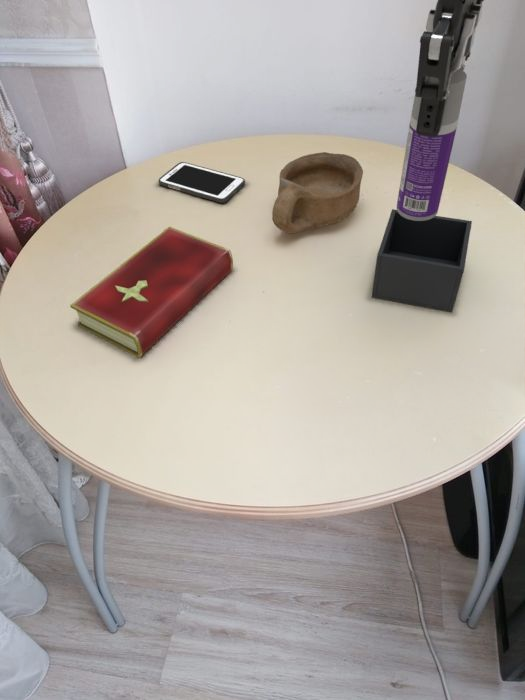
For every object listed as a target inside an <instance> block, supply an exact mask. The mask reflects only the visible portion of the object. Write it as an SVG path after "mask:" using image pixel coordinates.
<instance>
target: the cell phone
mask: <svg viewBox="0 0 525 700" xmlns="http://www.w3.org/2000/svg"><path fill="white" fill-rule="evenodd" d="M158 184H159V185H160V186H163V187H166V188H170V189H174V190H178V191H180V192H183V193H186V194H189V195H192V196H196V197H200V198H203V199H206V200H210V201H213V202H215V203H216V202H217V203H221V204H224V203H226V202H228V201H229V200H230V198H232V197H233V196H234V194H235V193H237V192H239V191H240V190H241V189H242V188H243V187H245V184H246V179H245V178H243V177H241V176H237V175H234V174H230V173H227V172H223V171H218V170H216V169H212V168H207V167H204V166H200V165H197V164H194V163H190V162H185V161H180V162H178V163H177V164H176V165H174V166H173V167H172V168H170V169H169V170H168V171H166V172H165V173H164V174H163V175H161V177H159V178H158Z"/></svg>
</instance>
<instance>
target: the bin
mask: <svg viewBox="0 0 525 700" xmlns="http://www.w3.org/2000/svg"><path fill="white" fill-rule="evenodd" d="M472 222H473V221H472V220H468V219H461V218H455V217H454V218H453V217H447V216H440V215H436V216H435V217H433V218H432V219H429V220H425V221H414V220H410V219H407V218H404V217H403V216H401V215H400V214H399V213H398V211H397V209H394V208H393V209H391V212H390V215H389V218H388V221H387V224H386V227H385V230H384V233H383V236H382V239H381V242H380V245H379V248H378V251H377V255H376V262H375V268H374V276H373V283H372V292H371V298H372V299H379V300H383V301H389V302H394V303H398V304H404V305H409V306H415V307H419V308H420V307H421V308H426V309H432V310H436V311H441V312H447V313H453V310H454V307H455V304H456V301H457V296H458V293H459V289H460V286H461V283H462V279H463V276H464V272H465V268H466V261H467V254H468V248H469V242H470V236H471V234H470V233H471V230H472V224H473V223H472Z"/></svg>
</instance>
